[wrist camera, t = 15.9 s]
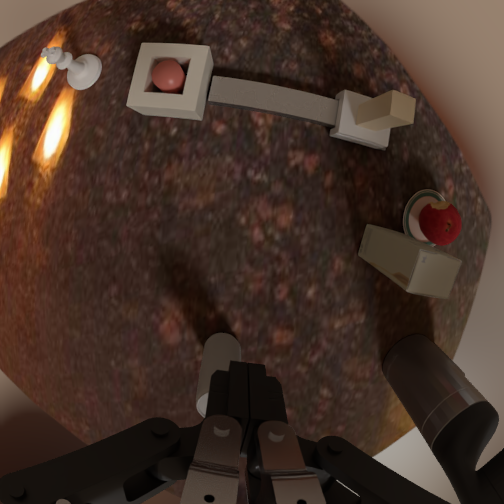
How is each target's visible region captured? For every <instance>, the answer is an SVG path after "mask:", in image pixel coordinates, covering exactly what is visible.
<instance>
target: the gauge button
mask: <svg viewBox="0 0 504 504" xmlns="http://www.w3.org/2000/svg"><path fill="white" fill-rule="evenodd" d="M152 81H153V83H154V84H155V85H156V86H157V87H158V88H159V89H160V90H161V91H162V92H163V93H168V94H180V95H183V91H184V86H185V82H186V75H185V74H184V72H183V70H182V68H181V67H180V65H179V64H178V63H177V62H175V61H172V60H166V61H163V62H161V63H159V64H158V65H157V66H156V67H155V68H154V69H153V72H152Z"/></svg>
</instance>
